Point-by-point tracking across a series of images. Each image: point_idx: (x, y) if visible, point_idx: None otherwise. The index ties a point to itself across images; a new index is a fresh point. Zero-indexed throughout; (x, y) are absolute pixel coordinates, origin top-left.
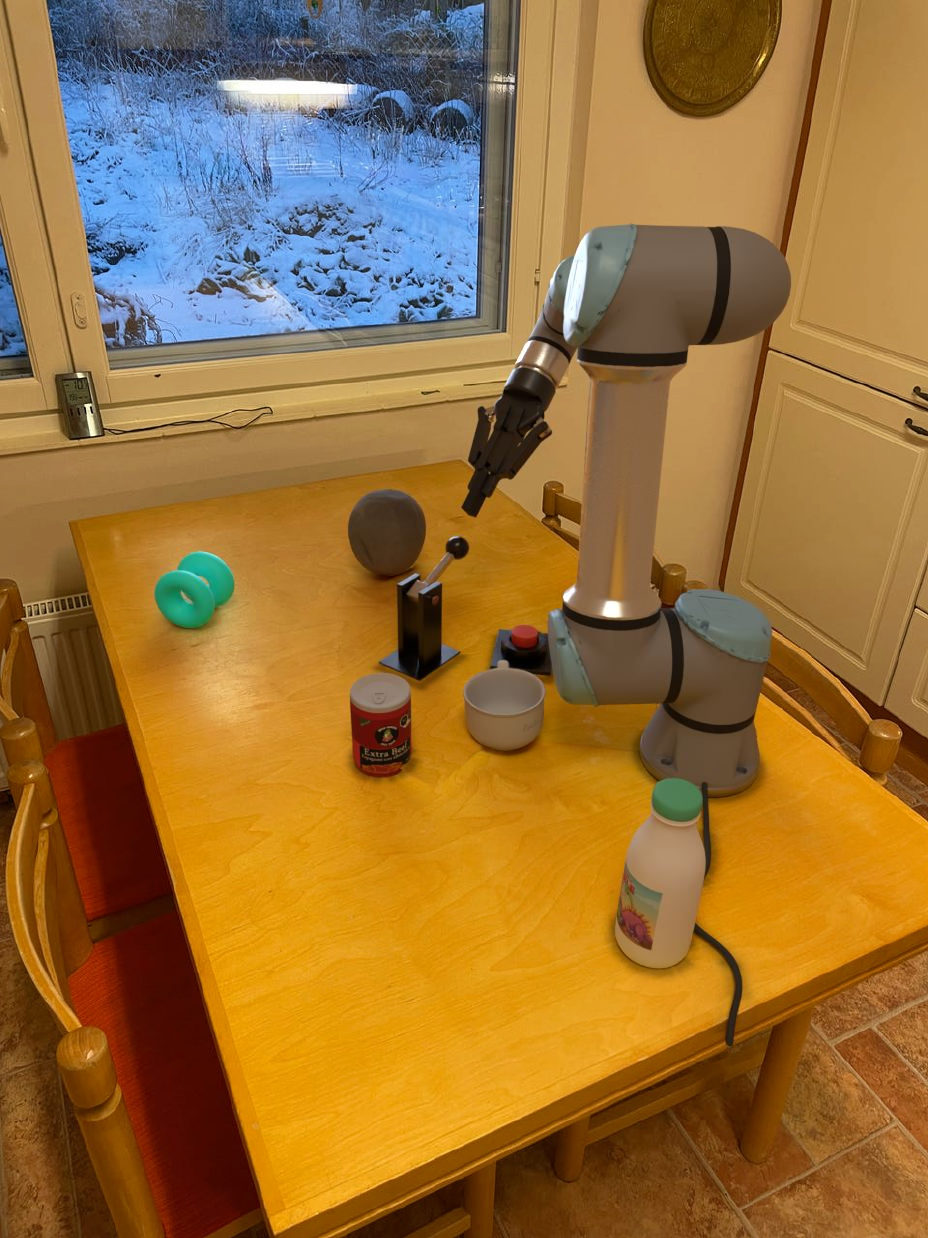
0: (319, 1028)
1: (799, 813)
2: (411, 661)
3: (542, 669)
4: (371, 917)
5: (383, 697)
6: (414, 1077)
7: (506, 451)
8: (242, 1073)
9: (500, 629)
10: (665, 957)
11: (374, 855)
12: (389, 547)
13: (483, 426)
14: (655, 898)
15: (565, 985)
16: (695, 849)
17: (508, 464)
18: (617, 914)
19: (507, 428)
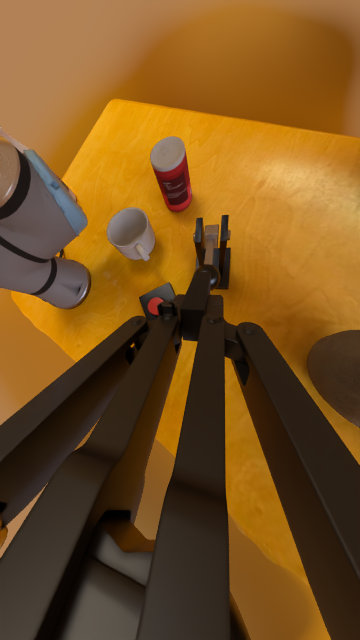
0: (128, 122)
1: None
2: (213, 260)
3: (143, 296)
4: (136, 151)
5: (162, 152)
6: (103, 133)
7: (133, 364)
8: (137, 103)
9: None
10: None
11: (150, 166)
12: (332, 339)
13: (340, 541)
14: None
15: (82, 176)
16: None
17: (126, 329)
18: (67, 187)
19: (144, 546)
